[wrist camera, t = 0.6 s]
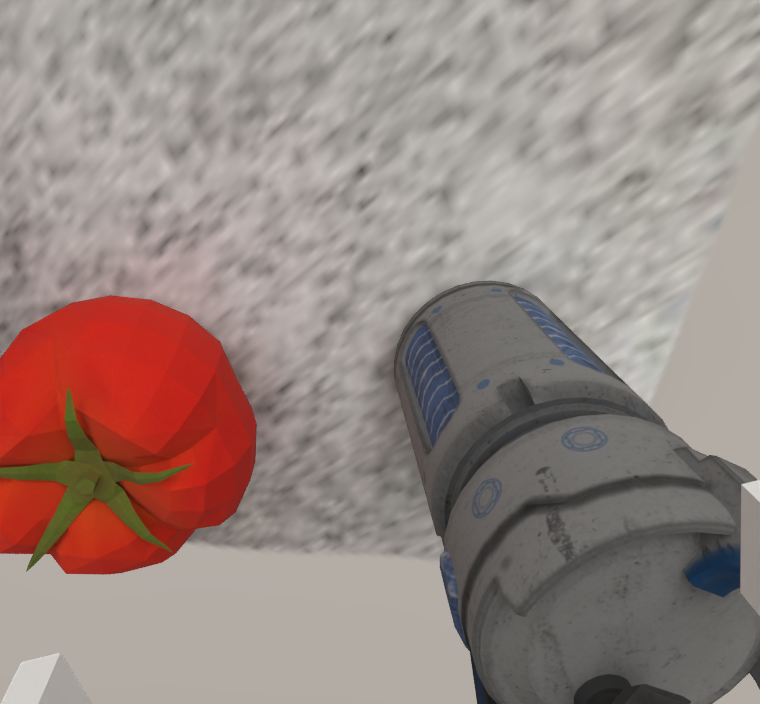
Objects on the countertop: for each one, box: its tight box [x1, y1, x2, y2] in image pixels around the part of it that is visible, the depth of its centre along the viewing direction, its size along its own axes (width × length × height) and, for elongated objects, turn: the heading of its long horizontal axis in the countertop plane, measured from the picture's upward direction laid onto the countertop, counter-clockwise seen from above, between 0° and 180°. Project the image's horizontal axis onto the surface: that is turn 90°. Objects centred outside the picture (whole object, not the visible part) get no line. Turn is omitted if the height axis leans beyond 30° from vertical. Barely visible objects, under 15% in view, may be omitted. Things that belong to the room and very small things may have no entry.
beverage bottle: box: [394, 281, 760, 704], centre depth 28 cm, size 10×13×25 cm
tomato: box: [0, 296, 257, 574], centre depth 33 cm, size 13×14×12 cm
